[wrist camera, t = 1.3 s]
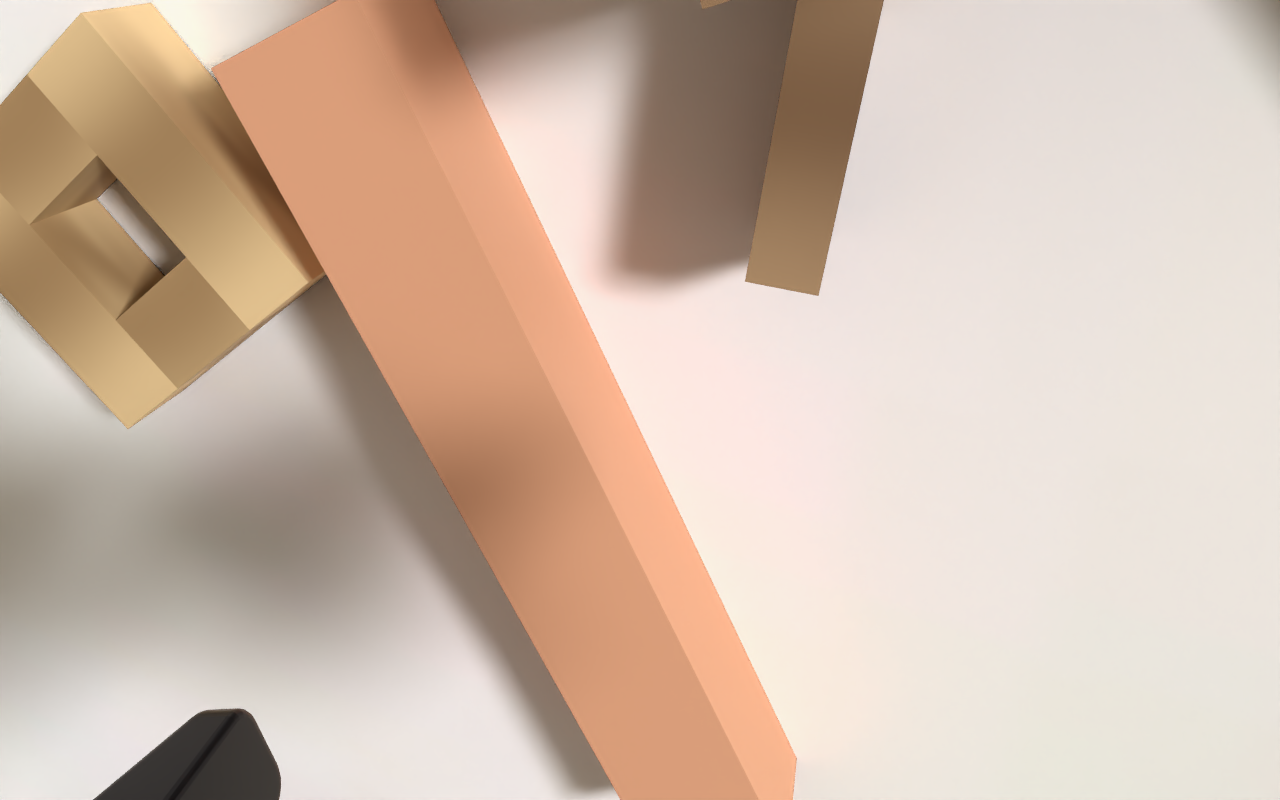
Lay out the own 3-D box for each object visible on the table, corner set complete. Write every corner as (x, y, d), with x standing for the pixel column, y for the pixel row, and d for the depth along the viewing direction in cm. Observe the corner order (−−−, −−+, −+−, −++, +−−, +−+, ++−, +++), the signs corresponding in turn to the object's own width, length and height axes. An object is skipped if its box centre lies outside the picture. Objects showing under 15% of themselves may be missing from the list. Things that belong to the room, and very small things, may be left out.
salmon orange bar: (797, 749, 25) (786, 856, 22) (685, 769, 26) (662, 874, 23) (431, -22, 19) (353, -9, 16) (304, 45, 20) (210, 68, 17)
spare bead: (355, 250, 22) (308, 282, 20) (183, 390, 24) (127, 428, 22) (151, 2, 20) (81, 12, 18) (-9, 177, 23) (-85, 201, 21)
